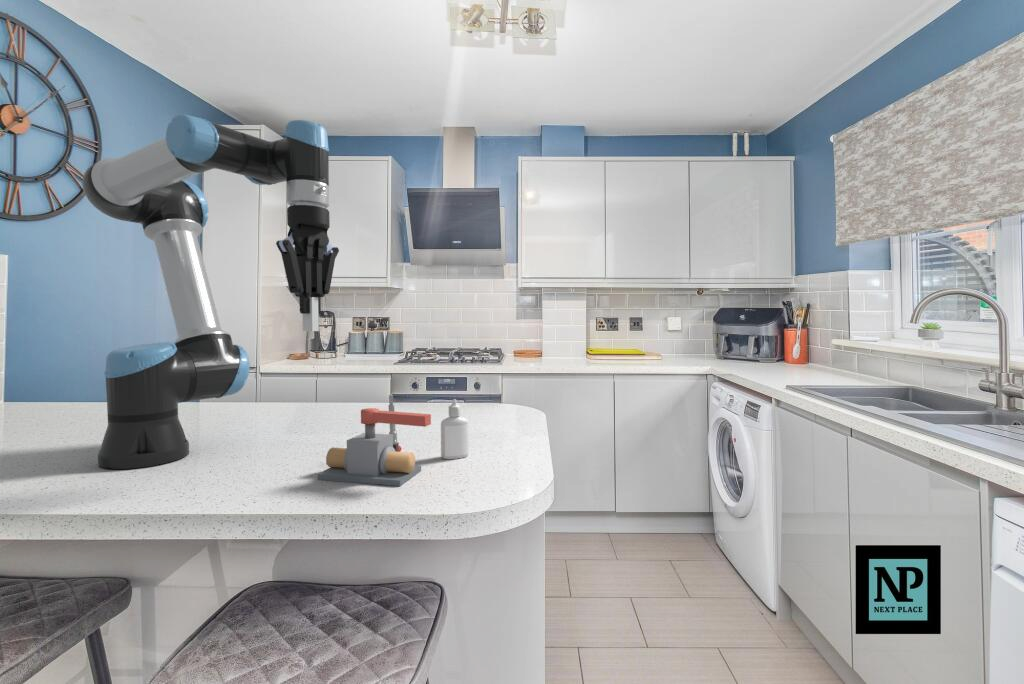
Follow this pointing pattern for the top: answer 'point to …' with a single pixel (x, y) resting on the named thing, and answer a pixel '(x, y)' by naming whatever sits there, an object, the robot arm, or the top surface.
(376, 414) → the lever
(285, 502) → the top surface
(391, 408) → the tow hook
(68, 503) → the top surface
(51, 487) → the top surface
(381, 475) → the valve base
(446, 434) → the eye dropper bottle
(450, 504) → the top surface
